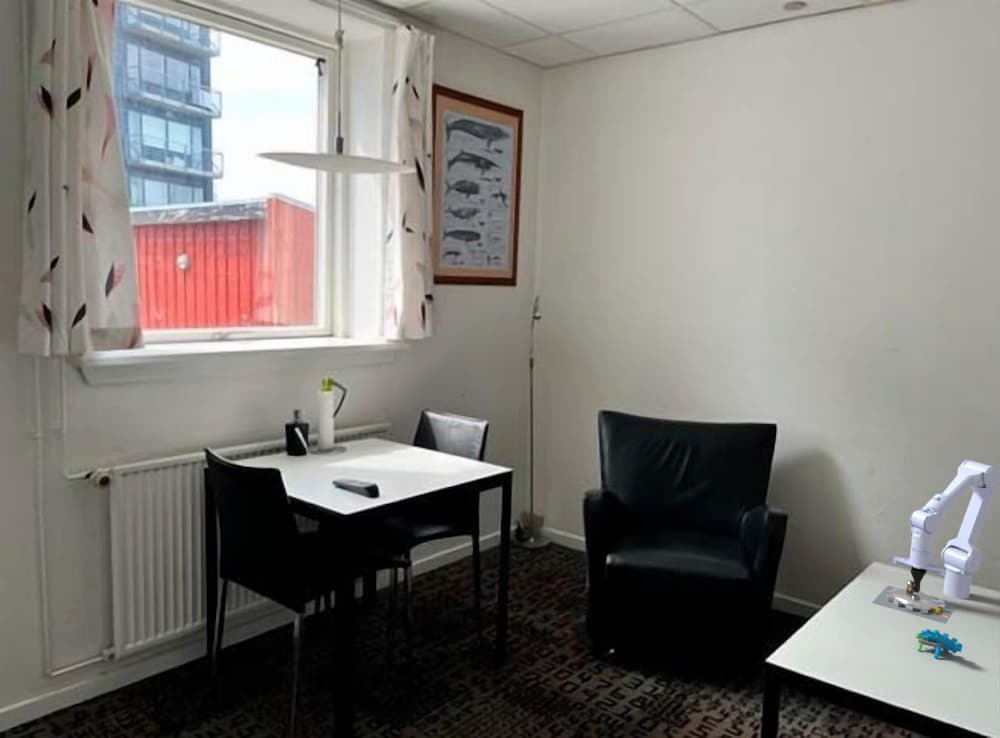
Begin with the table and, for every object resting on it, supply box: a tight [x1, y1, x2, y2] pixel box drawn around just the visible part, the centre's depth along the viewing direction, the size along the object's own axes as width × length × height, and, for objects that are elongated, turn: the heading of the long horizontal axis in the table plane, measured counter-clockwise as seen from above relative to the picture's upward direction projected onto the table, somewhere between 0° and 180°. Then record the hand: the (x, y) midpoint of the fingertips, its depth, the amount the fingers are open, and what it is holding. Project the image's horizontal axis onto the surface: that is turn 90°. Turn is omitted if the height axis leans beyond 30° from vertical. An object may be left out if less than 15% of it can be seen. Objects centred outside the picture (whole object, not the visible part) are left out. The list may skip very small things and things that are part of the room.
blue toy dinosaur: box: [915, 628, 963, 659], centre depth 205 cm, size 11×6×10 cm
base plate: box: [871, 585, 959, 624], centre depth 238 cm, size 20×20×1 cm
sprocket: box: [886, 579, 946, 614], centre depth 237 cm, size 16×16×5 cm
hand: (916, 591), depth 242 cm, fingers closed
